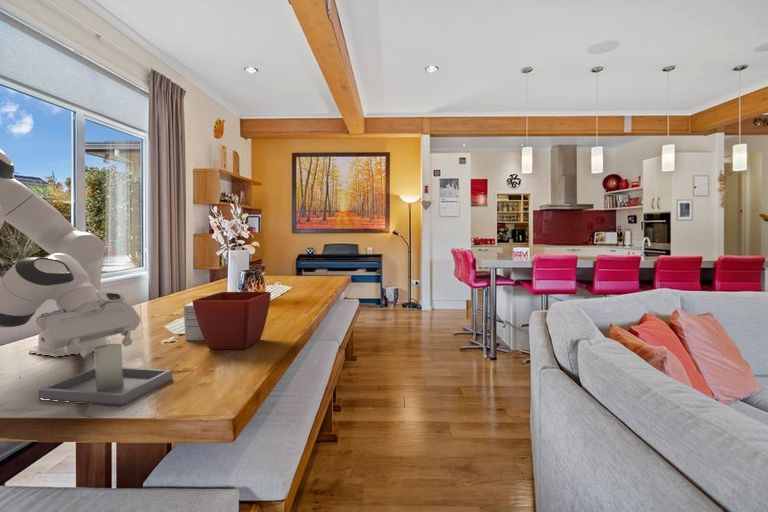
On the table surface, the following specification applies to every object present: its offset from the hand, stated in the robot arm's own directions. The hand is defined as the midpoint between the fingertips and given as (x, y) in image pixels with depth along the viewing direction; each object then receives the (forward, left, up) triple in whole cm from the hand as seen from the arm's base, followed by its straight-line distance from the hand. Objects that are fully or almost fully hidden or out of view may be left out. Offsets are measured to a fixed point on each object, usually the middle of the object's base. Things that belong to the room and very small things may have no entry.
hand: (109, 349), depth 95 cm
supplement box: (-9, +46, -10) cm, 48 cm away
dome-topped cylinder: (-1, 0, -9) cm, 9 cm away
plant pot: (+9, +40, -10) cm, 42 cm away
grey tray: (-1, 0, -10) cm, 10 cm away
